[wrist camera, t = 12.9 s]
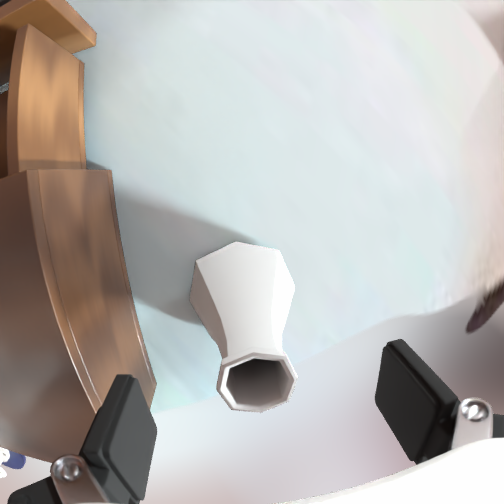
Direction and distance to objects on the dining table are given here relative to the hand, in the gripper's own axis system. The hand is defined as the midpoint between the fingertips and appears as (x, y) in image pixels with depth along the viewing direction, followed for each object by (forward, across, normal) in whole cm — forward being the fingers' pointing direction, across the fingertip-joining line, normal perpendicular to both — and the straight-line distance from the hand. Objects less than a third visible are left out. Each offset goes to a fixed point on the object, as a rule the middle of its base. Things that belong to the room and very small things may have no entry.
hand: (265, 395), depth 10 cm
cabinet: (+11, +15, -1) cm, 19 cm away
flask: (+11, 0, 0) cm, 11 cm away
